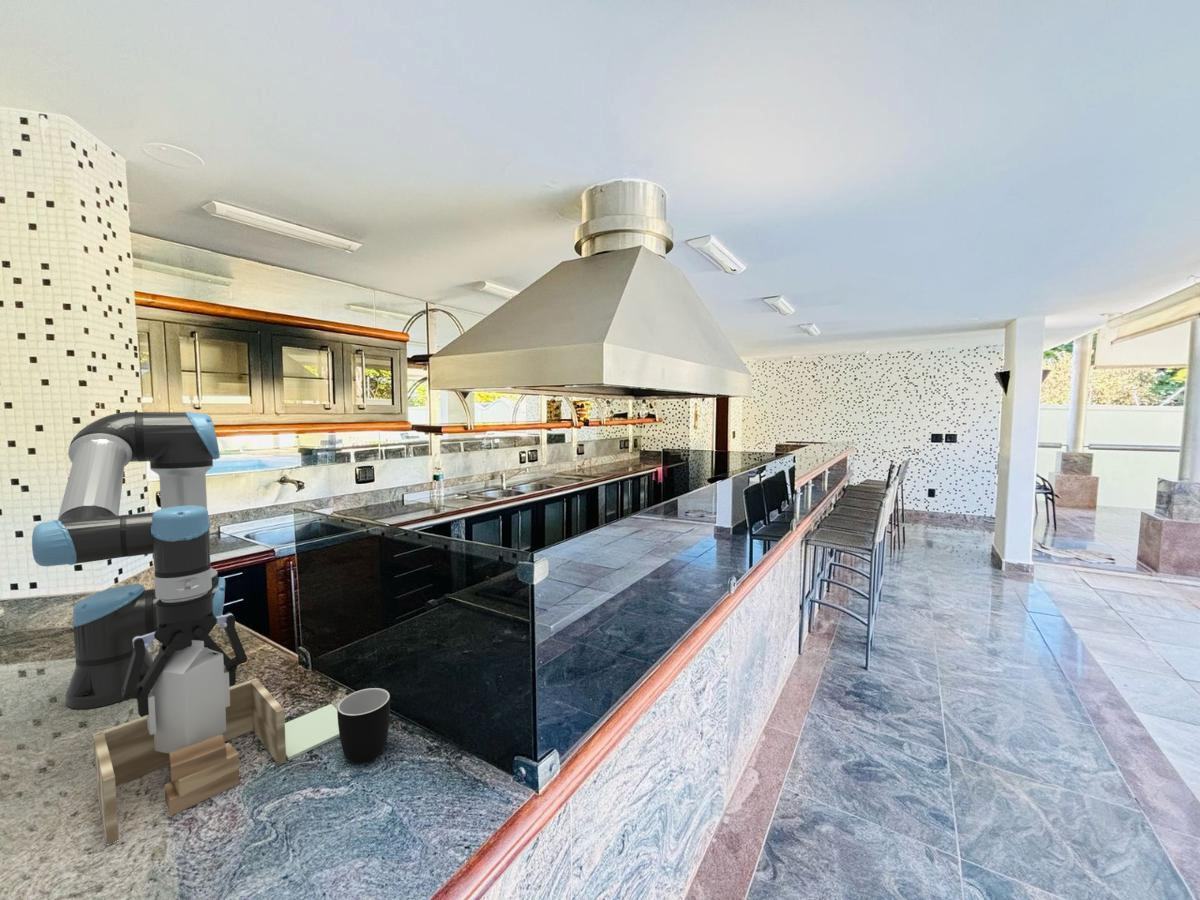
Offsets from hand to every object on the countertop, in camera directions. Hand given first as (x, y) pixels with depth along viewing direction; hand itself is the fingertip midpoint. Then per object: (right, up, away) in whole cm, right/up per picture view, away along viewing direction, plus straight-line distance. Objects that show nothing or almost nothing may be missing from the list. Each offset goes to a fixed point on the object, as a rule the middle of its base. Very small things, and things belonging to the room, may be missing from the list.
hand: (190, 716), depth 86 cm
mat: (+15, -9, +11) cm, 21 cm away
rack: (+1, -10, -1) cm, 10 cm away
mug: (+27, -10, +6) cm, 30 cm away
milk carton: (0, -5, 0) cm, 5 cm away
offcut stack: (+6, -10, -5) cm, 13 cm away
